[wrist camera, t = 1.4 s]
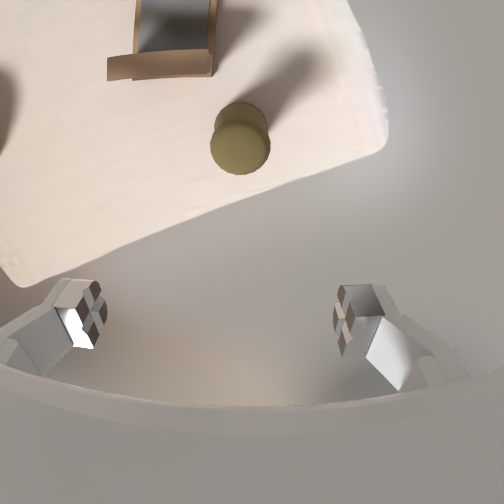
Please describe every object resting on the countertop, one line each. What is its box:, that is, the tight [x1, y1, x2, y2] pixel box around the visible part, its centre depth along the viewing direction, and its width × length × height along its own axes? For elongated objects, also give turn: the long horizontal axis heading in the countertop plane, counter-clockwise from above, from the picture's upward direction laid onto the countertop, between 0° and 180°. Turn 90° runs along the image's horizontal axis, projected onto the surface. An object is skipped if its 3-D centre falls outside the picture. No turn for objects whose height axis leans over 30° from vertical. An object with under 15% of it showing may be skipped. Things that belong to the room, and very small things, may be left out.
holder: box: [107, 0, 218, 81], centre depth 21 cm, size 14×9×8 cm
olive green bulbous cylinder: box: [210, 103, 270, 175], centre depth 28 cm, size 6×6×11 cm
